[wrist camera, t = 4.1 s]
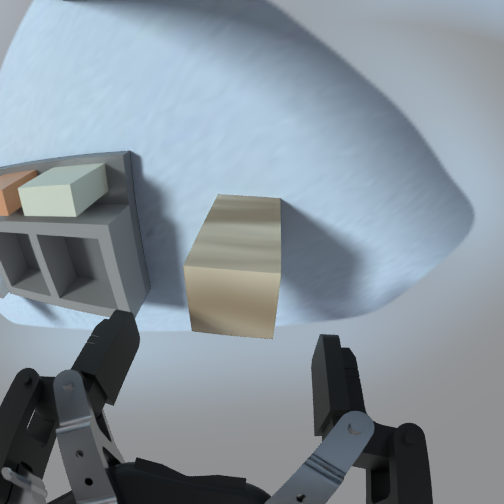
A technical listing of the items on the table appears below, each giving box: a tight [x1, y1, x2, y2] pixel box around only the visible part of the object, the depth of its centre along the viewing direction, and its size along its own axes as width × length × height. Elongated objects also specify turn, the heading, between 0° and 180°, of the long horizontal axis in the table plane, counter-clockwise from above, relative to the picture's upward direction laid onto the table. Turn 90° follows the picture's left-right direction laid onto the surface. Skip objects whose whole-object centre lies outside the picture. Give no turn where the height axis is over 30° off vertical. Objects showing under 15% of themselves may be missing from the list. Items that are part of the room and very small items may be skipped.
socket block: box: [0, 151, 151, 318], centre depth 18 cm, size 12×15×5 cm
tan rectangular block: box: [183, 194, 281, 339], centre depth 16 cm, size 4×4×8 cm
